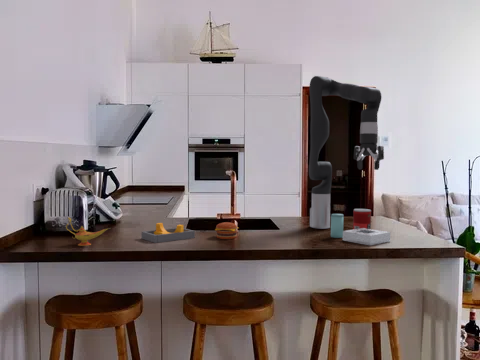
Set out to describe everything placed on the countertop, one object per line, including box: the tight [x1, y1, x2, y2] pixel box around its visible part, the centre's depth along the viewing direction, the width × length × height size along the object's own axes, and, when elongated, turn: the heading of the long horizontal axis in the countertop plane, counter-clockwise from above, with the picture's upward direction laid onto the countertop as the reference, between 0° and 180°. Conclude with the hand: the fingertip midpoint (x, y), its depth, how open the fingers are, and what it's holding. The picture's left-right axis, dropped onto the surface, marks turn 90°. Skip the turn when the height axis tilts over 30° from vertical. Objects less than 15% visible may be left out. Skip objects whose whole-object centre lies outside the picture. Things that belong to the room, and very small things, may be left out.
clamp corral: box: [141, 227, 196, 244], centre depth 196 cm, size 12×19×3 cm, turn 129°
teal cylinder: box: [330, 213, 345, 239], centre depth 202 cm, size 5×5×10 cm
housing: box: [342, 228, 391, 246], centre depth 192 cm, size 14×14×4 cm
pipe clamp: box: [154, 222, 185, 235], centre depth 195 cm, size 12×4×6 cm, turn 71°
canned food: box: [352, 208, 372, 230], centre depth 213 cm, size 8×8×11 cm
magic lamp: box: [65, 216, 111, 247], centre depth 180 cm, size 7×18×11 cm, turn 88°
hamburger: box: [214, 221, 239, 240], centre depth 199 cm, size 9×10×7 cm
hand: (368, 169), depth 201 cm, fingers open, 8 cm apart
